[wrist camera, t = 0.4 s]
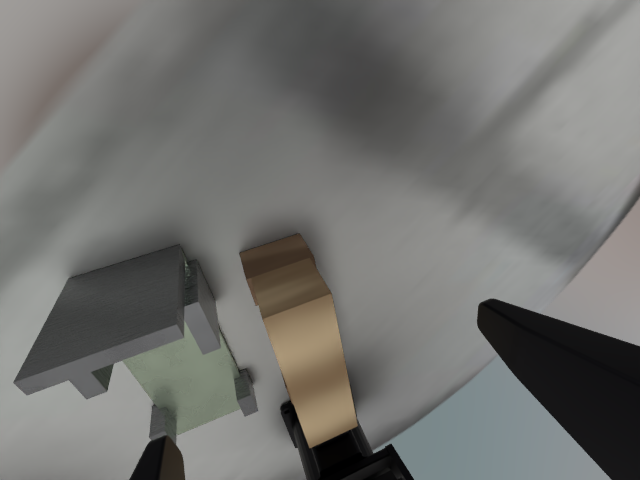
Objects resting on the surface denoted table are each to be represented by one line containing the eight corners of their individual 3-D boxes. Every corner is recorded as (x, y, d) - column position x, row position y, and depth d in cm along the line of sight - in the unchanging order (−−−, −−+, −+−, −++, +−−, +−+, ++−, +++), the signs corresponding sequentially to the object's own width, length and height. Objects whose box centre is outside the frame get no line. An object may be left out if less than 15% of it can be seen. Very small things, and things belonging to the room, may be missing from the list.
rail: (338, 384, 26) (357, 426, 23) (295, 402, 25) (309, 448, 22) (309, 257, 19) (331, 293, 16) (250, 278, 19) (262, 319, 16)
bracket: (257, 395, 28) (276, 485, 22) (171, 431, 26) (167, 538, 20) (188, 241, 20) (189, 320, 14) (58, 282, 18) (-2, 388, 12)
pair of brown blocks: (327, 353, 28) (341, 382, 26) (282, 372, 27) (292, 404, 25) (299, 233, 22) (313, 256, 19) (239, 253, 21) (246, 279, 18)
